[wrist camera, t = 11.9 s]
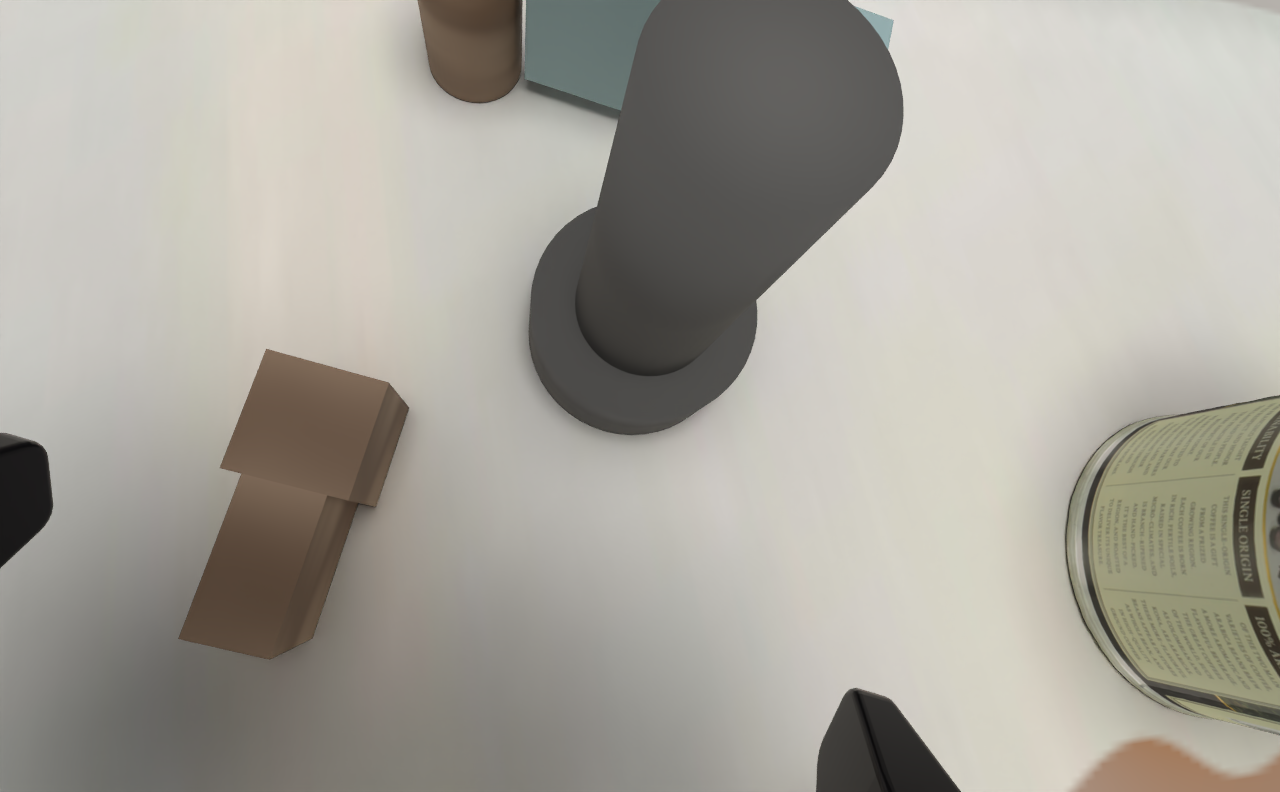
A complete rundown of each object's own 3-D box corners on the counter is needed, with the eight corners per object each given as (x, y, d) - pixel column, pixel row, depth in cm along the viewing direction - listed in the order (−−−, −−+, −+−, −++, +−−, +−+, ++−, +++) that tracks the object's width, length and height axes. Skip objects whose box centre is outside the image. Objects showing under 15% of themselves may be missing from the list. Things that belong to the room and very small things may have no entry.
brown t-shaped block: (444, 9, 24) (417, -193, 17) (532, 39, 24) (538, -149, 18) (218, 616, 19) (64, 658, 13) (330, 642, 19) (236, 695, 13)
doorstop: (557, 457, 22) (616, 349, 9) (506, 261, 22) (495, -87, 10) (750, 407, 23) (1038, 252, 10) (696, 224, 24) (898, -124, 11)
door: (524, 78, 23) (527, -77, 17) (541, 27, 23) (550, -140, 18) (797, 169, 24) (887, 52, 18) (808, 118, 25) (899, -11, 19)
